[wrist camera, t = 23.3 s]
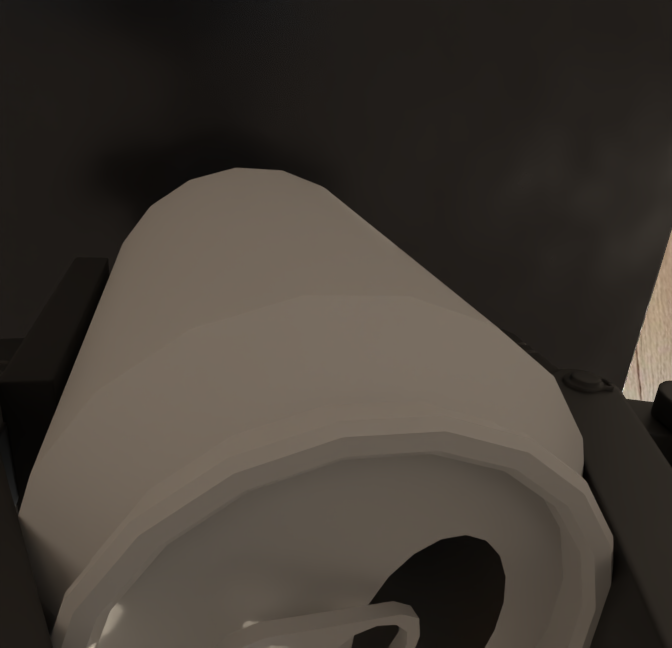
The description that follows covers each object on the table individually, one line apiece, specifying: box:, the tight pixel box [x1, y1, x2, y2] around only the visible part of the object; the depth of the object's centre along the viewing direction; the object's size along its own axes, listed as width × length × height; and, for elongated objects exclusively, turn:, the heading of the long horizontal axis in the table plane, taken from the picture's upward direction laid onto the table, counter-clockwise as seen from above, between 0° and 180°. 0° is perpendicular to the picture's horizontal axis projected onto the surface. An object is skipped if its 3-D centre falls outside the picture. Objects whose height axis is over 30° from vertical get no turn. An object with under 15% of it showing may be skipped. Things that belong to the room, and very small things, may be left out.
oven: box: [0, 0, 672, 516], centre depth 36 cm, size 32×40×26 cm
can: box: [18, 168, 613, 648], centre depth 11 cm, size 8×8×12 cm
